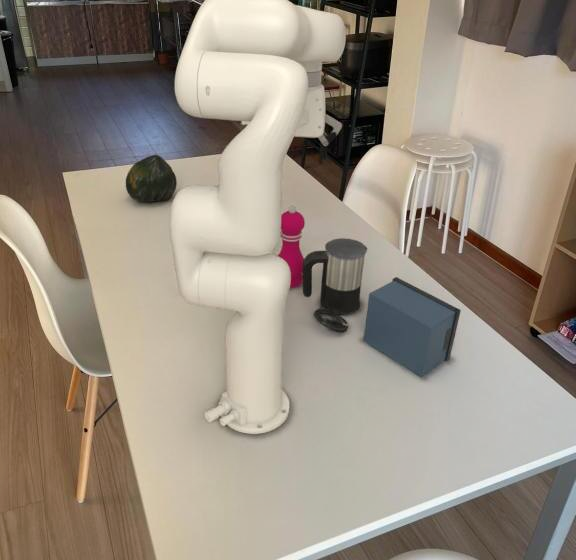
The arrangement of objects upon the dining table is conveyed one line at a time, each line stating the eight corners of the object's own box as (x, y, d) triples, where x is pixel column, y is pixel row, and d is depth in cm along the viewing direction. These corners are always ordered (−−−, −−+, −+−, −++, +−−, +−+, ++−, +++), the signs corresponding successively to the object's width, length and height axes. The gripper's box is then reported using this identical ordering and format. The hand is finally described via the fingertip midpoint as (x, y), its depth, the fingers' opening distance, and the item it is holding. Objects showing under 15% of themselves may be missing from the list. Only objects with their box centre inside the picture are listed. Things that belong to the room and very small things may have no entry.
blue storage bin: (422, 378, 112) (433, 327, 106) (361, 340, 122) (367, 291, 115) (449, 359, 117) (461, 309, 111) (389, 323, 127) (396, 276, 121)
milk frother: (349, 290, 138) (355, 234, 131) (382, 327, 126) (390, 268, 118) (294, 300, 134) (297, 244, 126) (322, 340, 121) (327, 280, 114)
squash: (113, 178, 179) (126, 151, 167) (156, 169, 188) (171, 143, 176) (133, 217, 177) (148, 193, 165) (175, 206, 186) (192, 183, 174)
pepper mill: (301, 291, 137) (305, 214, 127) (271, 287, 139) (273, 210, 128) (306, 275, 143) (310, 201, 133) (278, 271, 145) (279, 198, 134)
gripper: (256, 80, 113) (256, 163, 122) (344, 85, 112) (338, 169, 121) (262, 71, 120) (262, 151, 129) (346, 76, 118) (339, 157, 127)
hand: (299, 160), depth 125 cm, fingers open, 9 cm apart
